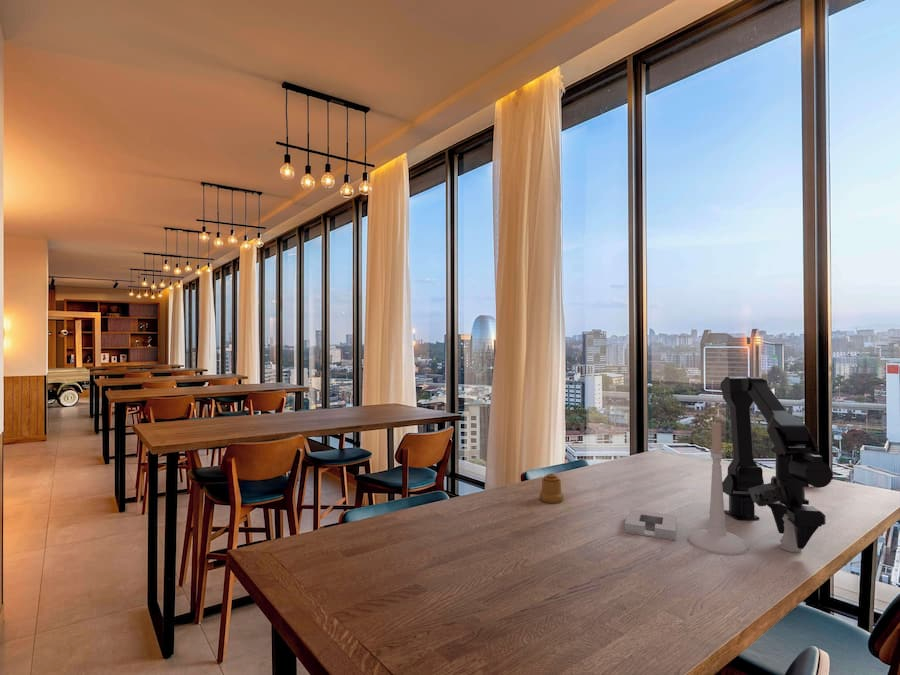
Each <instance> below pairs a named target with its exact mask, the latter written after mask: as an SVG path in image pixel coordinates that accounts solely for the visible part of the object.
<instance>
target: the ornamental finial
mask: <svg viewBox="0 0 900 675" xmlns="http://www.w3.org/2000/svg"><path fill="white" fill-rule="evenodd" d="M539 492H540V493H539V499H540V500H541V502H544V503H546V504H559V503H561V502H563V500H564V499H565V496H564V494H563V491H562V482H561V479H560V478H559V476H557V475H556V474H555V473H548V474H546V475H545V476H544V477H543V478H542V479H541V491H539Z"/></svg>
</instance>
